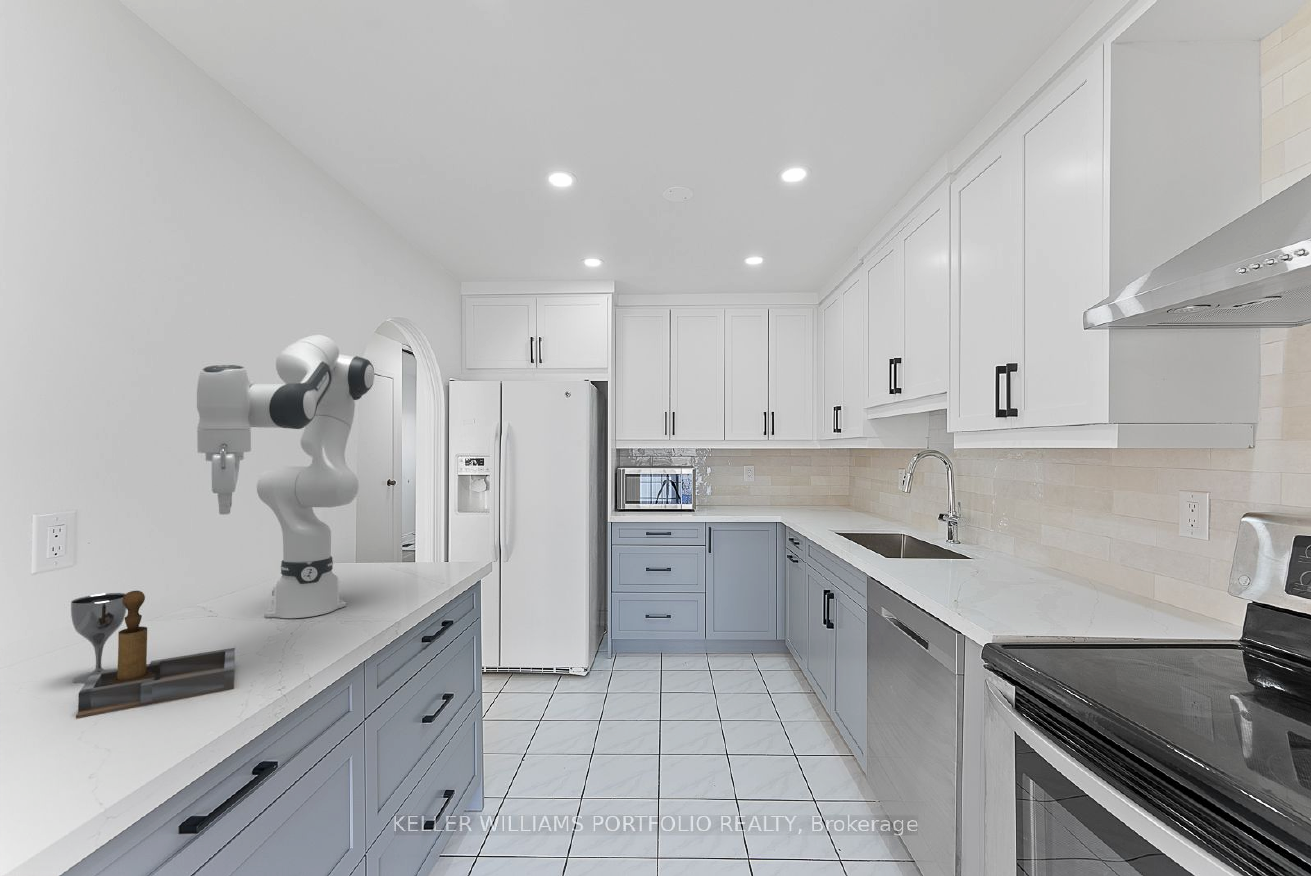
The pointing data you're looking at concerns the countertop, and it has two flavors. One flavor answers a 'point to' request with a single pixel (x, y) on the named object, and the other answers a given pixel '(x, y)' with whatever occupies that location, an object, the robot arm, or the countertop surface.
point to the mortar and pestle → (132, 643)
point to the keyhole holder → (159, 683)
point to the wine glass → (97, 622)
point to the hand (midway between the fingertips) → (225, 511)
